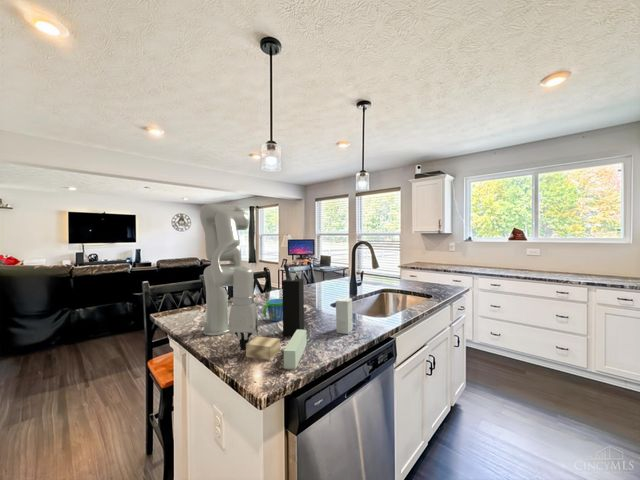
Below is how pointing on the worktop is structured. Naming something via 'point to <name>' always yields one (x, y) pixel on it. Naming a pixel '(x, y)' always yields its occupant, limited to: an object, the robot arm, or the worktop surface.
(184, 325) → the worktop surface
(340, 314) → the skincare box
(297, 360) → the board
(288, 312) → the tall black block
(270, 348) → the maple block
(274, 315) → the snack cup
